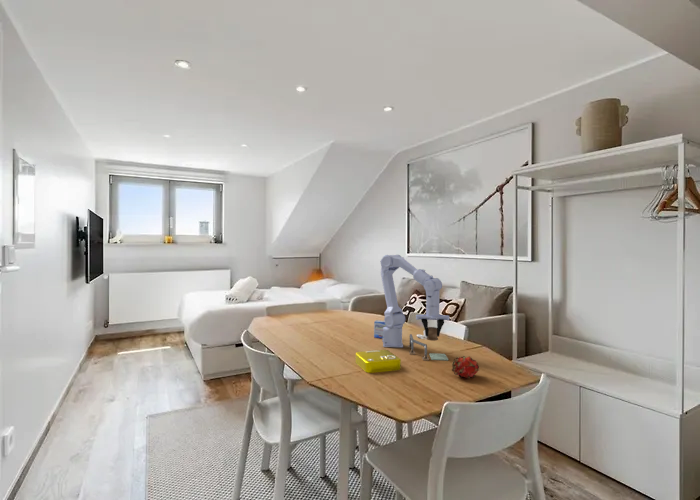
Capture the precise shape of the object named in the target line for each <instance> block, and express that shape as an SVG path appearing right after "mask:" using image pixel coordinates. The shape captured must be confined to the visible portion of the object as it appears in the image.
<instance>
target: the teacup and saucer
mask: <svg viewBox="0 0 700 500" xmlns="http://www.w3.org/2000/svg"><path fill="white" fill-rule="evenodd" d="M416 337H417V338H420V339H422V340H424V339H427V336H426V334H425V329H424V330H423V334H421V333H420V334H416Z"/></svg>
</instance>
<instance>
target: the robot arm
mask: <svg viewBox="0 0 700 500" xmlns="http://www.w3.org/2000/svg"><path fill="white" fill-rule="evenodd" d="M400 268H401V269H402V270H403V271H405V272H406V273H408V274H410V275H412V278H413V280H414V281H416V283H419V284H420V285H421V286H423V289H424V291H425V295H426V299H425V300H426V302H425V304H426V306H425V307H426V308H425V314H415V320H416V321H419V320H421V324H422V326H423V329H424V330H425V334H426V336H428V327H429V325H428V324H429V322H428V321H436V325H437V327H436V328H437V338H439V337H440V334H441V330H442V329H443V326H444V324H445V321H448V322H449V321H450V318H451V317H450V315H445V314H444V315H443V314H440V291H441V290H442V288H443V283H442V281H441V279H440V278H438V277H434V276H433V275H430V274H429V273H427V272H426V269H424V268H422V269H421V268H419V269H418V268H416V267H415V266H414V265H412V264H411V263H410V262H409V261H407V260H406V259H405V257H403V256H401V255H400V254H384V255H383V256H382V258H381V259H380V276H381V282H382V287H383V293H384V298H385V303H386V309H385V311H384V312H383V313H384V319H383V321H384V322H385V325H386V326H387V327H383V338H382V347H383V348H404V344H403V327H404V324H405V323H406V316H405V314H404V311H403V309H402V308H401V307H400V306H399V302H398V297H397V292H396V288H395V286H396V285H395V282H394V278H393V274H394V273H395V272H396V271H397V270H398V269H400Z"/></svg>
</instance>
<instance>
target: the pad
mask: <svg viewBox="0 0 700 500" xmlns="http://www.w3.org/2000/svg"><path fill="white" fill-rule="evenodd" d="M428 354H429V357H430V359H431V361H449V358H448V356H447V355H446V353H437V352H436V353H434V352H433V353H432V352H430V353H428Z"/></svg>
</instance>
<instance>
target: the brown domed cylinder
mask: <svg viewBox="0 0 700 500" xmlns="http://www.w3.org/2000/svg"><path fill="white" fill-rule="evenodd" d="M426 340H427V341H434V342H435V341H439V337H438V336H437V327H435V326H428V336H427V338H426Z"/></svg>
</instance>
